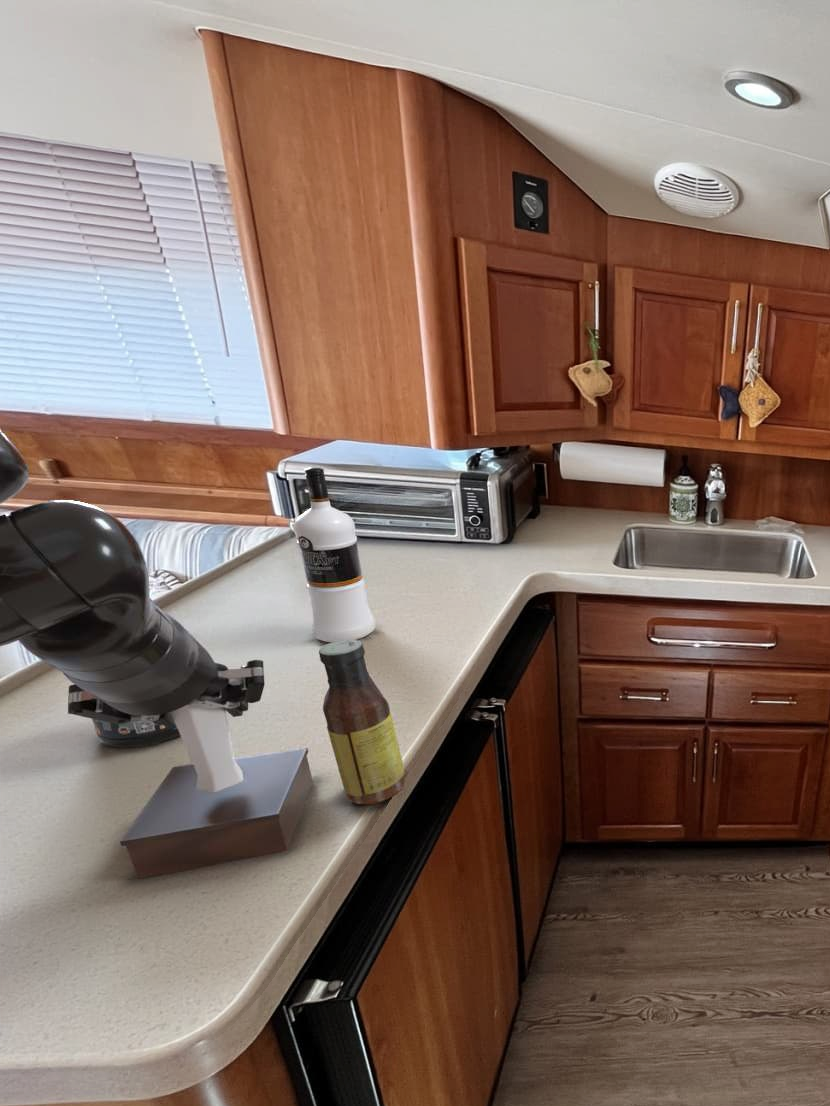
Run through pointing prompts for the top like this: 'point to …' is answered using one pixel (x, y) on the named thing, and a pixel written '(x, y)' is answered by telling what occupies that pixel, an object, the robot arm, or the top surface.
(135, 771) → the top surface
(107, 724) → the supplement container
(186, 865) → the box
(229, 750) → the white faceted vase
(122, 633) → the robot arm
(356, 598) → the vodka
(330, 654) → the sauce bottle
